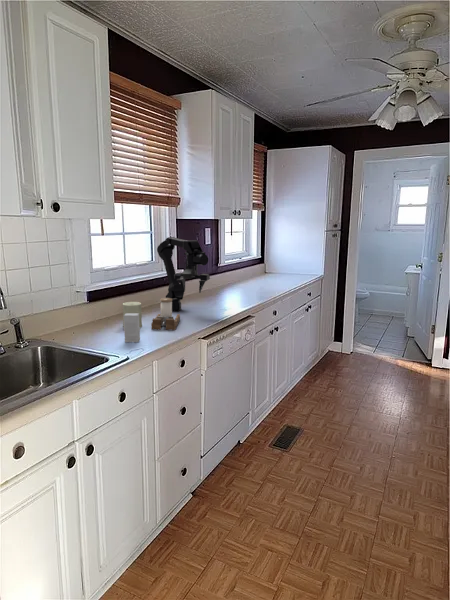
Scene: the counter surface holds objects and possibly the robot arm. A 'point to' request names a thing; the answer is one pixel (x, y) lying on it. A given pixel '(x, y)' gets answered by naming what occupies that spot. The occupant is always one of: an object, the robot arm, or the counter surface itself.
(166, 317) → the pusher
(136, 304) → the can
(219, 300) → the counter surface
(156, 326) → the brown boxy piece
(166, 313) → the jar
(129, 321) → the skincare box
